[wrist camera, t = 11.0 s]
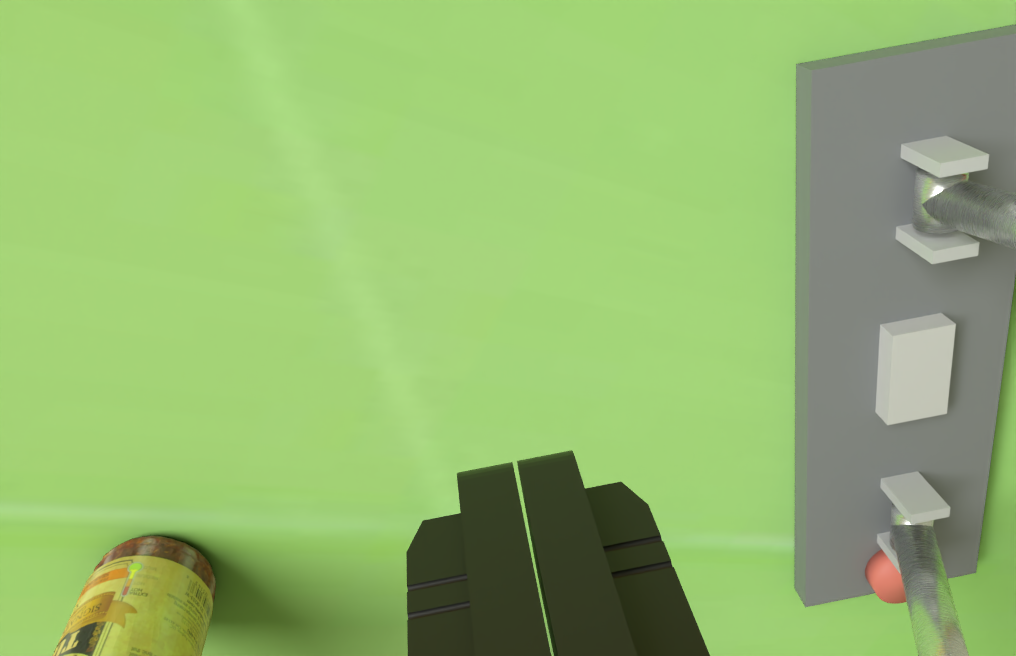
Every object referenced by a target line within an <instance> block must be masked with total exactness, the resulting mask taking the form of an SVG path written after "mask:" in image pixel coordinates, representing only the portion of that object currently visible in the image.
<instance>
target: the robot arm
mask: <svg viewBox="0 0 1016 656" xmlns="http://www.w3.org/2000/svg"><path fill="white" fill-rule="evenodd" d="M517 463H518V469H519V475H520V481H521V486H522V492H523V497H524V503H525V508H526V514H527V519H528V525H529V530H530V536H531V541H532V547H533V552H534V558H535V563H536V568H537V574H538V579H539V584H540V589H541V594H542V599H543V604H544V609H545V614H546V619H547V624H548V629H549V633H550V638H551V643H552V648H553V653H554V656H710V655H709V652H708V650H707V647H706V645H705V643H704V640H703V638H702V635H701V633H700V630H699V628H698V625H697V623H696V621H695V618H694V616H693V613H692V611H691V608H690V606H689V603H688V601H687V599H686V596H685V594H684V591H683V589H682V586H681V584H680V581H679V579H678V577H677V574H676V572H675V569H674V567H672V564H671V559H670V557H669V555H668V552H667V550H666V547H665V545H664V542H663V541H662V540H661V535H660V533H659V530H658V528H657V525H656V523H655V520H654V518H653V515H652V513H651V511H650V508H649V506H648V504H647V503H646V502H644V501H643V500H642V499H641V498H640V497H638V496H637V495H636V494H635V493H634V492H633V491H631V490H630V489H629V488H628V487H627V486H626V485H624V484H623V483H622V482H617V483H612V484H607V485H602V486H597V487H592V488H587V489H585V488H584V485H583V482H582V478H581V475H580V472H579V469H578V466H577V462H576V459H575V456H574V453H573V451H566V452H561V453H556V454H551V455H546V456H541V457H535V458H530V459H525V460H520V461H517ZM457 480H458V490H459V500H460V510H461V513H460V514H455V515H450V516H444V517H439V518H434V519H429V520H424V521H422V523H421V525H420V527H419V529H418V531H417V533H416V535H415V537H414V539H413V541H412V543H411V545H410V547H409V549H408V551H407V587H408V592H407V614H408V620H407V622H408V656H551V653H550V648H549V643H548V638H547V633H546V628H545V623H544V618H543V613H542V608H541V603H540V598H539V593H538V588H537V583H536V578H535V573H534V568H533V563H532V558H531V553H530V548H529V543H528V538H527V533H526V528H525V523H524V518H523V513H522V508H521V503H520V498H519V493H518V488H517V483H516V478H515V473H514V468H513V463H512V462H511V463H506V464H501V465H495V466H490V467H485V468H480V469H475V470H470V471H464V472H459V473H457Z"/></svg>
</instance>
